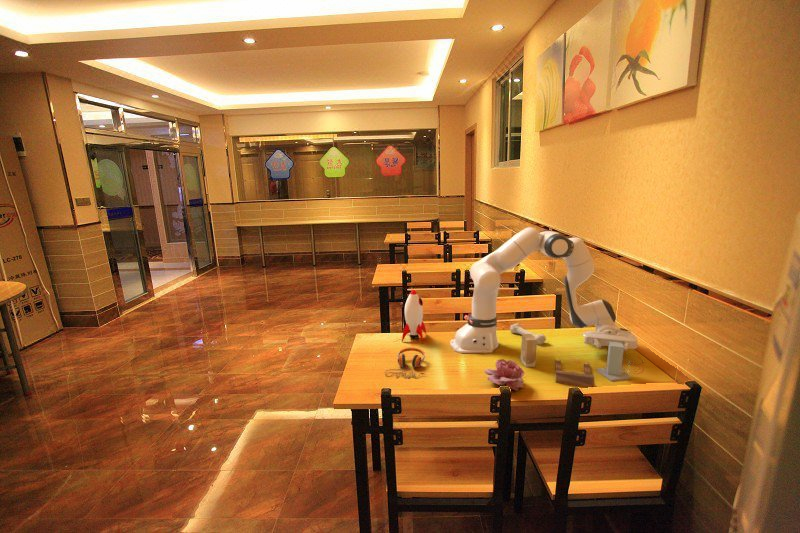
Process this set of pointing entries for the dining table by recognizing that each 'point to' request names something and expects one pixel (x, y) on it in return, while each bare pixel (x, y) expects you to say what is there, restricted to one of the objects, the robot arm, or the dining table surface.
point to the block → (614, 358)
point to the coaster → (612, 377)
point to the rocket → (414, 316)
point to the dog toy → (517, 329)
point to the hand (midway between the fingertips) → (612, 347)
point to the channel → (574, 376)
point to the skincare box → (528, 350)
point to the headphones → (415, 362)
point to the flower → (506, 374)
